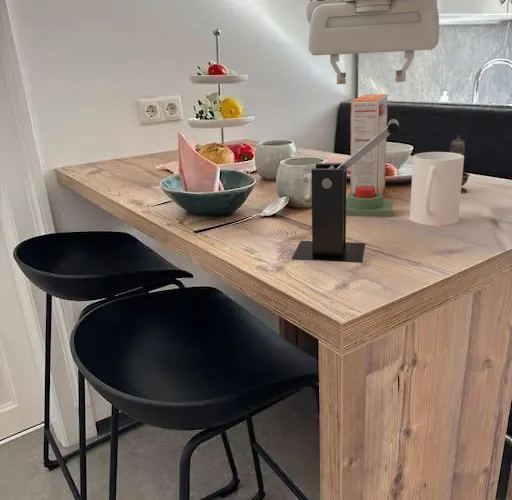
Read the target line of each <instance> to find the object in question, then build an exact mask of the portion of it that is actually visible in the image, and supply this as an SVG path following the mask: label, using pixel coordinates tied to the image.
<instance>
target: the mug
mask: <svg viewBox="0 0 512 500" xmlns="http://www.w3.org/2000/svg"><path fill="white" fill-rule="evenodd" d="M464 156H465V155H464ZM464 156H463V155H461V154H457V153H450V151H427V152H420V153H419V152H418V153H415V154H413V156H412V169H411V170H412V171H411V187H410V203H409V215H408V219H409V221H412V222H413V223H415V224H416V223H417V224H419V225H420V224H421V225H425V226H449V225H452V224H456V223H458V222H459V221H460V206H461V196H462V195H461V194H462V193H461V187H462V186H461V185H462V175H463V167H464V166H463V164H464V165H465V159H464Z"/></svg>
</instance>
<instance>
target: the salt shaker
mask: <svg viewBox="0 0 512 500" xmlns="http://www.w3.org/2000/svg"><path fill="white" fill-rule="evenodd" d="M465 150H466V142H465V141H464V140H463V139H461V136H460V135H459V134H458V135H457V136H456V138H455V139H453V140H452V141H451V142H450V148H449V152H450V153H457V154H461V155H463V156H464V160H465V159H466V155H465ZM464 165H465V163H464V164H463V175H462V185H461V194H466V193H467V192H468V190H467V189H466V188H465V187H463V186H465V184H467V182H468V181H469V180H468V179H469V177H470V176H471V175H470V173H467V172H466V171H465V169H464V167H465V166H464Z"/></svg>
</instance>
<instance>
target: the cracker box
mask: <svg viewBox="0 0 512 500" xmlns="http://www.w3.org/2000/svg"><path fill="white" fill-rule="evenodd" d="M387 126H388V94H386V93H385V94H378V93H377V94H362V95H360V96H357V97H356V98H354V99H352V100H350V157H351V156H352V155H353V154H354V153H356V152H357V151H358V150H359V149H360V148H362V147H363V146H364V145H365V144H366V143H368V142H369V141H370V140H371V139H372V138H374V137H375V136H376V135H377V134H378V133H380V132H381V131H382V130H383V129H384V128H386V127H387ZM386 164H387V137H386V138H385V139H384V140H383V141H381V142H380V143H379V144H378V145H377V146H375V147H374V148H373V149H372V150H370V151H369V152H368V153H367V154H366V155H364V156H363V157H362V158H361V159H359V160H358V161H357V162H356V163H355V164H353V165H352V166H351V167H350V193H352V192H355V189H356V187H359V186H372V187H375V192H379V193H381V194H383V195H384V193H385V190H386V170H387V166H386Z"/></svg>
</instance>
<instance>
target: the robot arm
mask: <svg viewBox="0 0 512 500" xmlns="http://www.w3.org/2000/svg"><path fill="white" fill-rule="evenodd" d="M306 20H307V22H308V23H309V29H308V30H309V31H308V43H307V45H308V48H307V49H308V52H309V53H310V54H311V55H312V56H313V57H314V56H329V59H330V60H329V62H330V64H331V66H332V68H333V70H334V72H335V73H336V85H346V84H347V79H346V78H347V72H342V71H341V69H340V67H339V66H338V64H337V63H339V62H340V55H350V54H352V55H353V54H371V53H372V54H373V53H388V52H389V53H393V52H394V53H395V52H403V59H405V62H404V63H403V65H402V66H401V69H397V70H395V78H394V79H395V80H394V81H395V83H399V82H400V83H401V82H402V83H403V82H406V78H407V77H406V75H407V70H408V69H409V67H410V65H411V63H412V62H413V60H414V59H415V51H431V50H434V49H435V48H436V47H437V46H438V45H439V42H440V15H439V8H438V5H437V2H436V1H435V0H308V1H307V3H306Z"/></svg>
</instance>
